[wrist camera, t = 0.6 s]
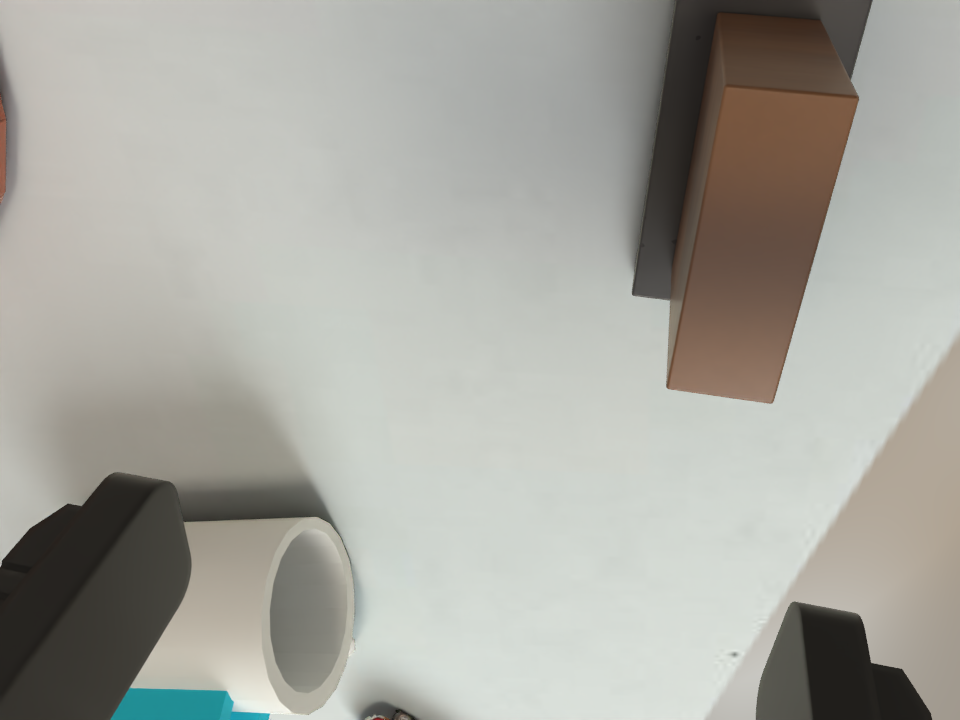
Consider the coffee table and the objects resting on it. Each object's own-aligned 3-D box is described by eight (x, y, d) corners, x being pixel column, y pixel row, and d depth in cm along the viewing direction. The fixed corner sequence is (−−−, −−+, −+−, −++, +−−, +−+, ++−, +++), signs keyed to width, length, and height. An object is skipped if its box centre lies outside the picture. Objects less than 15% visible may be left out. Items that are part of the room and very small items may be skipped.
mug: (-67, 738, 31) (226, 753, 27) (28, 499, 36) (287, 485, 32) (136, 787, 40) (375, 803, 36) (189, 592, 45) (404, 590, 41)
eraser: (682, -47, 21) (677, 22, 16) (871, -34, 20) (937, 44, 15) (633, 276, 26) (616, 417, 21) (783, 295, 26) (808, 445, 20)
